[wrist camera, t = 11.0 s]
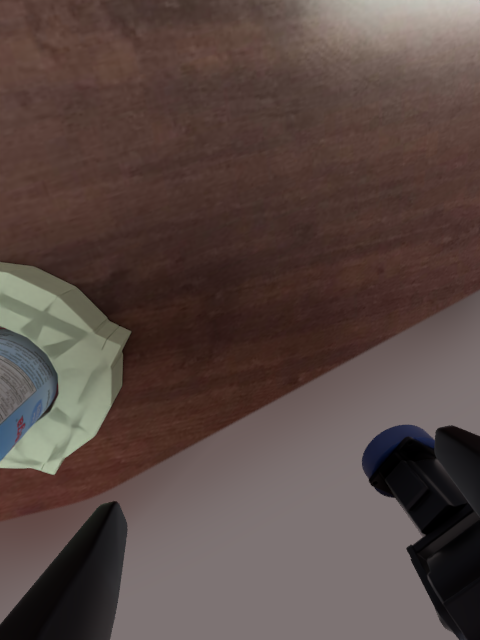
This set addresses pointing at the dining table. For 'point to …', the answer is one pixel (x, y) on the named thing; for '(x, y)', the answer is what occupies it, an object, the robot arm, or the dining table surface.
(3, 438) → the pill bottle
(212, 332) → the dining table surface
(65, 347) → the socket pad
